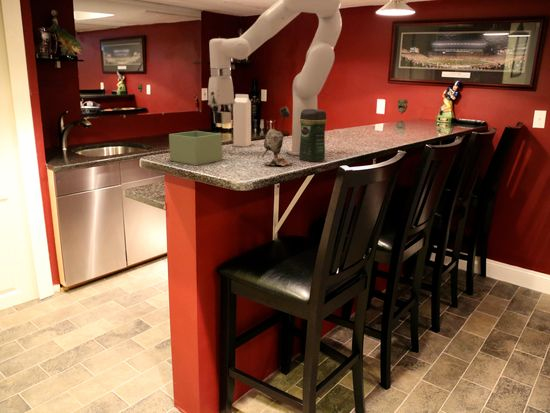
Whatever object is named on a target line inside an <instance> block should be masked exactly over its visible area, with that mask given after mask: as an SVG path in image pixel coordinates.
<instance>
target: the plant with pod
mask: <svg viewBox="0 0 550 413" xmlns="http://www.w3.org/2000/svg"><path fill="white" fill-rule="evenodd" d="M279 113H280V116H281V118H282V120H281V121H282V122H281V131H279V130H276V129H274V128H270V129H269V130H268V131H267V133H266V135H265V138H264V140H263V147H264V149H265V151H264V153H262V155H261V158H264V156H265V155H266V154H267V153H268V151H270V152H272V153H273V158H272V160H271V161H269V162H267V163H265V165H267V166H275V165H279V166H283V167H285V166H287V165H288V164H289V165H293V162H289V161H287V160H286V158H285V157H281V155H280V153H281V150H282V147H283V143H284V142H283V141H284V134H283V129H284V128H283V127H284V123H285V118H288V119H291V115H290V114H291V113H290V111H289V108H288V107H287V106H284V107H281V108H280V109H279Z"/></svg>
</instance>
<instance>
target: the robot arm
mask: <svg viewBox="0 0 550 413" xmlns="http://www.w3.org/2000/svg"><path fill="white" fill-rule="evenodd" d="M341 4H342V0H276V2H274V3H273V4H272V5H271V6H270V7H268V8H267V9H265V11H264V12H262V13H261V15H260V16H259V17H258V18H257V19H256V21H255V22H254V23H253V24H252V25H251V26H250V27H249V28H248V29H247V30H246V31H245V32H244V33H243V34H241V35H240V36H239V37H233V38H212V39H210V40H209V43H208V44H209V47H208V48H209V63H210V64H209V65H210V77H209V79H208V87H207V89H208V91H207V94H208V96H207V98H208V99H207V100H208V102H207V106H208V107H209V108H210V109H211V110H212V113H213V119H214V118H215V123H214V124H219V123H222V117H221V113H220V112H221V108H222V107H221V106H222V105H223V112H231V113H232V112H233V105H234V104H235V97H234V96H235V94H234V85H233V79H232V78H233V77H232V70H231V66H232V65H231V59H236V60H241V61H242V60H245V59H247V58H248V57H249V56H251V54H252V53H254V52H255V51H256V50H257V49H258V48H260V47H261V46H262V45H264V43H265V42H267V41H268V40H270V39H271V38H273V37H274V36H275V35H277V34H278V33H279V32H280V31H281V30H282V29H284V28H285V27H286V26H287V25H288V24H290V22H292V21H293V20H294V19H295V18H297V16H299V15H300V14H301V13H307V14H308V13H309V14H316V16H317V18H318V27H317V29H316V31H315V34H314V37H313V39H312V42H311V43H310V45H309V48H308V49H307V51H306V54H305V62H304V65H303V67H302V69H301V71H300V72H298V74H297V75H296V76H295V77H294V79H293V82H292V127H291V128H292V129H291V131H292V132H291V148H289V149H287V154H289V155H293V156H299V151H300V139H301V122H300V116H301V112H302V111H303V110H305V109H317V110H318V95H319V94H320V92H322V89H323V88H324V85H325V83H326V81H327V79H328V76H329V74H330V72H331V70H332V67H333V65H334V62H335V51H334V49H335V47H336V44H337V42H338V40H339V37H340V35H341V31H342V25H343V22H342V16H341V12H340V7H341Z"/></svg>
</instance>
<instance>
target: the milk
mask: <svg viewBox="0 0 550 413" xmlns="http://www.w3.org/2000/svg"><path fill="white" fill-rule="evenodd" d="M234 100H235V104H234V105H233V107H232V119H233V120H232V124H233V127H232V128H233V129H232V131H233V132H232V133H233V134H232V135H233V147H249V146H251V145H252V101H251V99H250V98H249V94H245V93H236V94H235V97H234Z"/></svg>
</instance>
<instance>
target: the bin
mask: <svg viewBox="0 0 550 413" xmlns="http://www.w3.org/2000/svg"><path fill="white" fill-rule="evenodd" d="M168 142H169V160H170V161H171V162H175V163H181V164H188V165H193V166H199V165H205V164H208V163H209V164H210V163H213V162H219V161H223V134H222V133H219V132H218V133H217V132H208V131H201V130H191V131H184V132H177V133H169V134H168Z"/></svg>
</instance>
